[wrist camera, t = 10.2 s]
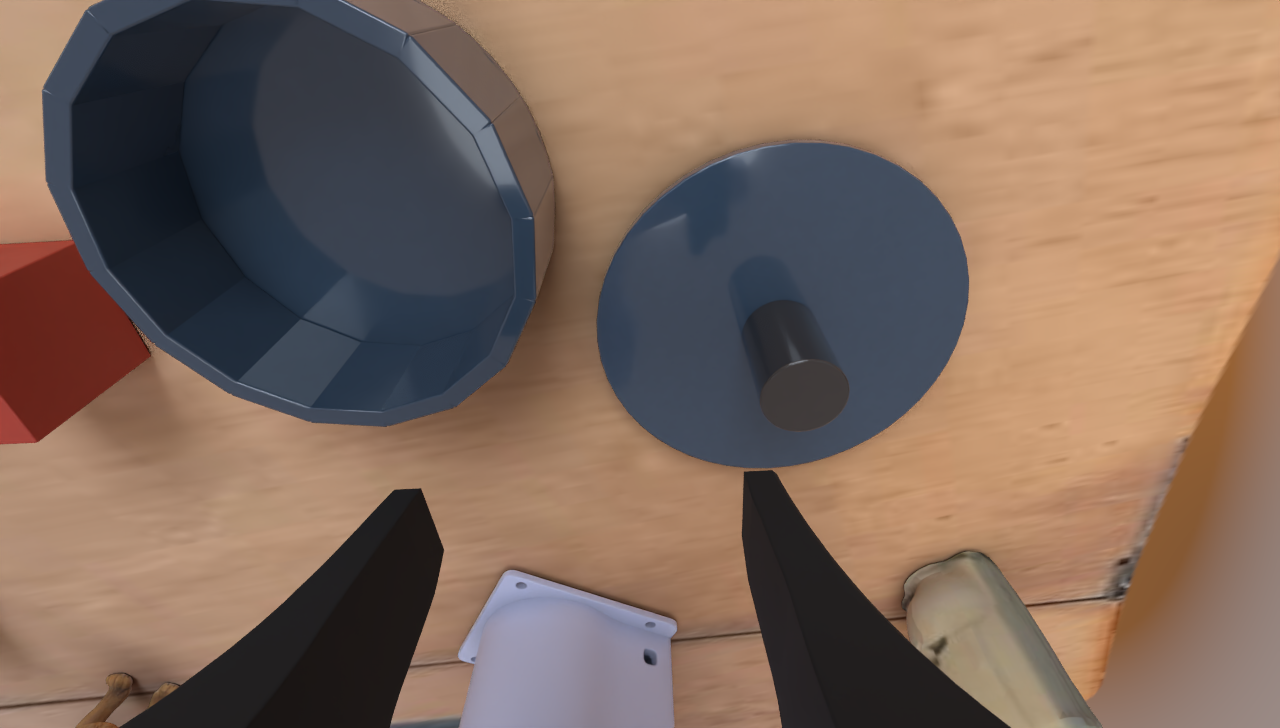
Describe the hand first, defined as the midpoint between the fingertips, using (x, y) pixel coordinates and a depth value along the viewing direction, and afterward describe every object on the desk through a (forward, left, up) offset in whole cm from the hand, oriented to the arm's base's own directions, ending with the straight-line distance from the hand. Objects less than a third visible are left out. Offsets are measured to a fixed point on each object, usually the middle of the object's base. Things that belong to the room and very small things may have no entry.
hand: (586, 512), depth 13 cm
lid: (-5, -3, -9) cm, 11 cm away
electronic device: (-21, +6, -10) cm, 24 cm away
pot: (+9, -1, -9) cm, 13 cm away
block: (+18, +8, -9) cm, 22 cm away
